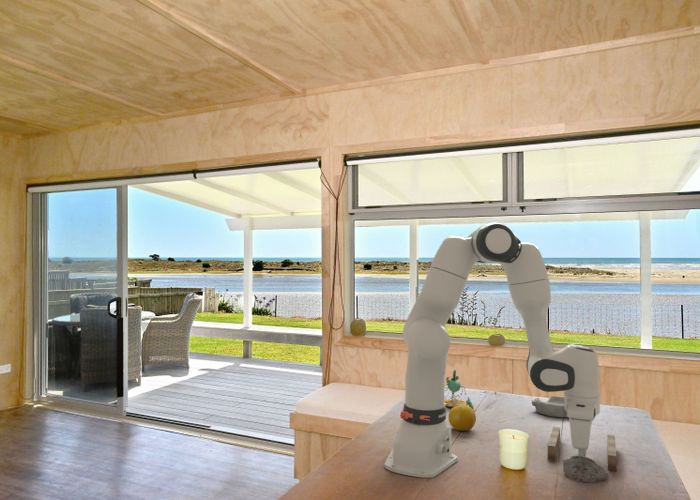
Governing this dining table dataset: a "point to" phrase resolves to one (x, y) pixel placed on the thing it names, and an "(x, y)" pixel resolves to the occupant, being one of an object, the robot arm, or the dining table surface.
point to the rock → (583, 469)
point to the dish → (551, 406)
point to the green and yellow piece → (454, 387)
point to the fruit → (462, 417)
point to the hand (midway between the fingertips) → (582, 455)
